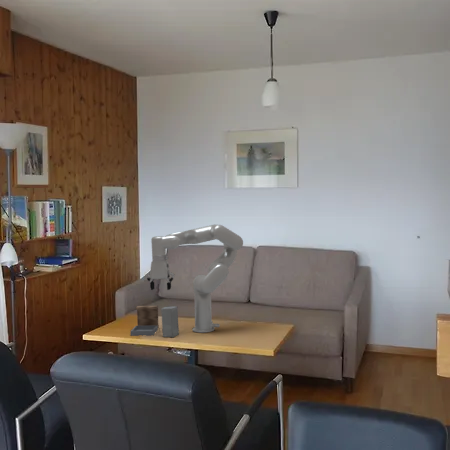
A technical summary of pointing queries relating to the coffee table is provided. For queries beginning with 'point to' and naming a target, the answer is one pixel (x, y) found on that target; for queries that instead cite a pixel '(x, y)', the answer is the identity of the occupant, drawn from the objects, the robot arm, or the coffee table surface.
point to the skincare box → (170, 321)
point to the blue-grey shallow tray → (143, 330)
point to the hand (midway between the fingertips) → (160, 289)
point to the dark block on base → (147, 315)
